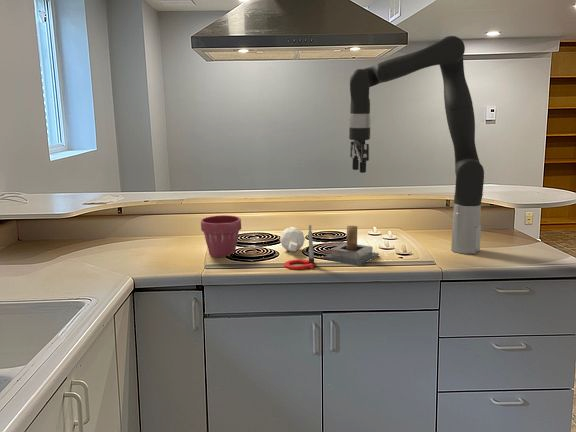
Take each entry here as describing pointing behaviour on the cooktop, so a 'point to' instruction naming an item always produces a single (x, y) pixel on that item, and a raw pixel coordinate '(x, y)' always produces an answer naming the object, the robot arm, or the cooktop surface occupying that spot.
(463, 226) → the robot arm
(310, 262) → the tow hook
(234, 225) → the plant pot
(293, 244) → the perfume bottle
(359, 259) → the plate
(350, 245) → the dowel pin
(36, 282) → the cooktop surface
